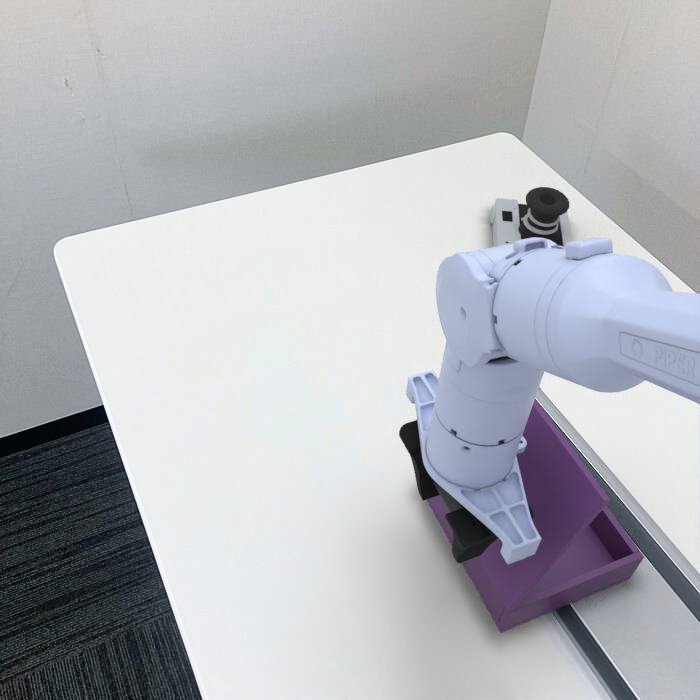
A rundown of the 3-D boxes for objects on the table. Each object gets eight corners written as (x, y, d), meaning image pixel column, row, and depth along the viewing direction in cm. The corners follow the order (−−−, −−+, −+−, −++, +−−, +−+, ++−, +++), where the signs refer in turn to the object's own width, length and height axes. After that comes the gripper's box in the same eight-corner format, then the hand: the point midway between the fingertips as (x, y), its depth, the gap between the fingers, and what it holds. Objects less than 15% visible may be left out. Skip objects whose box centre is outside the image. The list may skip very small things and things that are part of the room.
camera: (590, 253, 79) (495, 243, 79) (573, 302, 84) (483, 293, 84) (576, 171, 89) (491, 163, 90) (561, 219, 94) (481, 211, 95)
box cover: (503, 355, 55) (456, 356, 53) (611, 500, 47) (561, 508, 45) (431, 468, 63) (387, 473, 61) (513, 609, 55) (466, 622, 52)
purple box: (541, 453, 69) (551, 429, 67) (630, 578, 61) (644, 557, 58) (423, 494, 66) (428, 471, 63) (500, 633, 57) (509, 612, 55)
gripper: (605, 482, 43) (548, 591, 53) (479, 315, 52) (451, 434, 62) (497, 522, 41) (460, 627, 51) (386, 341, 50) (373, 460, 60)
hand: (449, 523), depth 56 cm, fingers closed on box cover, 5 cm apart
